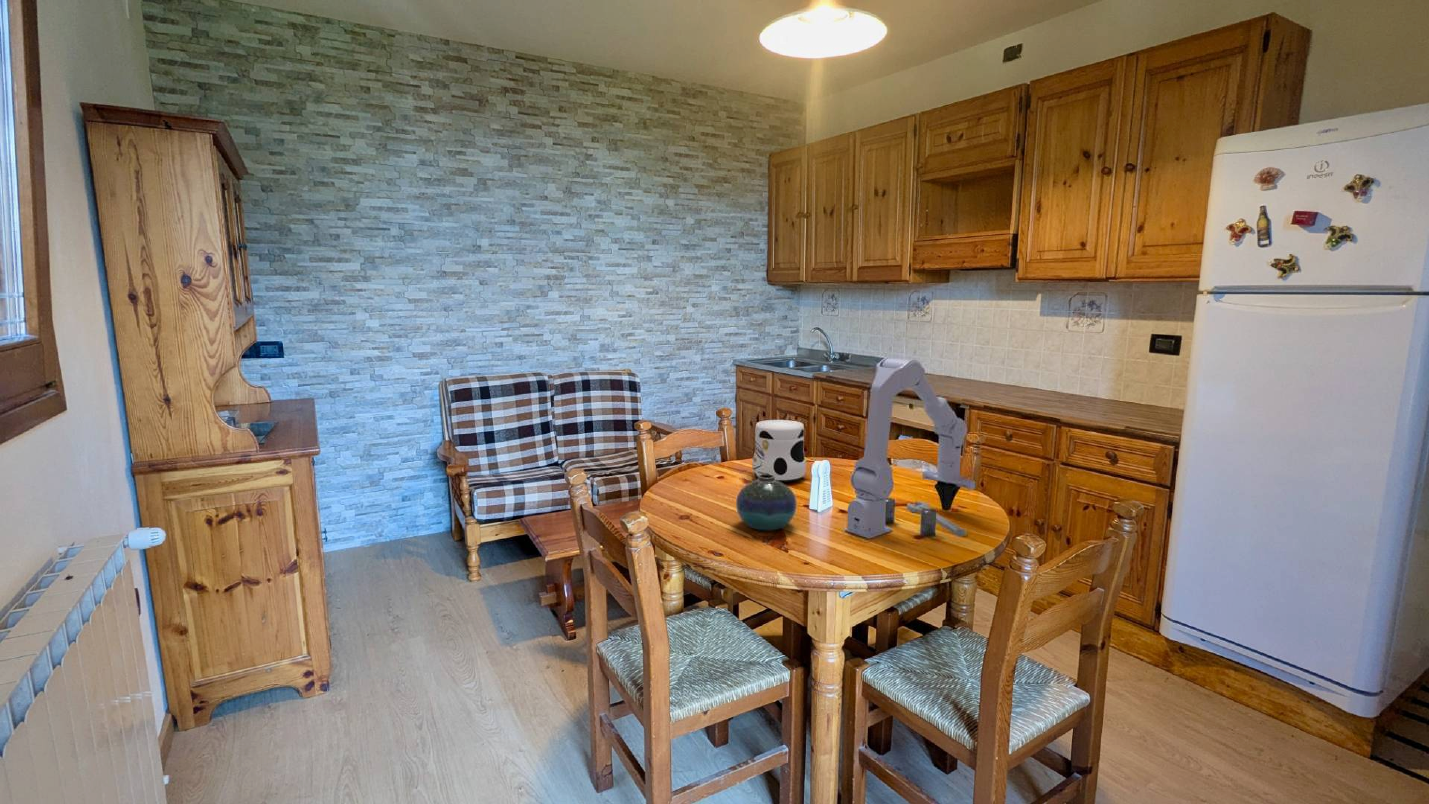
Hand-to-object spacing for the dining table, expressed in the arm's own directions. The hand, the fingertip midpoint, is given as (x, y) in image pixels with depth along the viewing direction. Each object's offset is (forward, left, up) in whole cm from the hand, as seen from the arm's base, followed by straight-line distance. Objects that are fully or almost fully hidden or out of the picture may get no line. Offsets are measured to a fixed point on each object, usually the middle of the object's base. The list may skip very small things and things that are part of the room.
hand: (946, 509), depth 181 cm
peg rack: (-18, 0, -1) cm, 18 cm away
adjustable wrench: (-8, -1, -2) cm, 8 cm away
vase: (-45, +24, -1) cm, 51 cm away
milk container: (-10, +54, -1) cm, 55 cm away
